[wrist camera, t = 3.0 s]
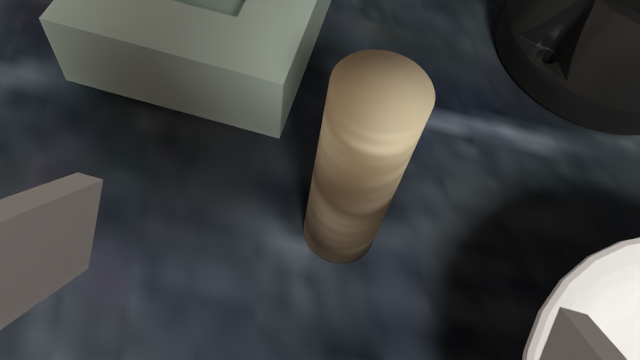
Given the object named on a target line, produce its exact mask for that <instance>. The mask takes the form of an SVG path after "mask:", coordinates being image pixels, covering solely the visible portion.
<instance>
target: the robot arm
mask: <svg viewBox="0 0 640 360" xmlns="http://www.w3.org/2000/svg"><path fill="white" fill-rule="evenodd" d="M494 34H495V43H496V47H497V51H498V54H499V56H500V58H501V60H502V62H503V64H504V66H505V68H506V69H507V71H508V72H509V74H510V75H511V76H512V78H513V79H514V80H515V81H516V82H517V84H518V85H519V86H520V87H521V88H522V89H523V90H524V91H525V92H526V93H528V94H529V95H530V96H531V97H532V98H533V99H535V100H536V101H537V102H539V103H540V104H541V105H543V106H544V107H546V108H547V109H549V110H550V111H552V112H554V113H555V114H557V115H559V116H561V117H563V118H565V119H567V120H569V121H571V122H574V123H576V124H578V125H581V126H584V127H587V128H590V129H593V130H597V131H601V132H606V133H611V134H619V135H640V0H506V1H505V3H504V5H503V7H502V9H501V11H500V13H499V15H498V17H497V20H496V23H495V32H494ZM102 184H103V179H99V178H96V177H92V176H89V175H85V174H81V173H78V172H77V173H74V174H72V175H69V176H66V177H63V178H60V179H57V180H54V181H52V182H49V183H46V184H43V185H40V186H37V187H34V188H32V189H29V190H26V191H23V192H20V193H17V194H14V195H12V196H9V197H6V198H3V199H0V330H1V329H2V328H4V327H5V326H6V325H8V324H9V323H11V322H12V321H14V320H15V319H16V318H18V317H19V316H21V315H22V314H24V313H25V312H26V311H28V310H29V309H31V308H32V307H34V306H35V305H36V304H38V303H39V302H41V301H42V300H44V299H45V298H46V297H48V296H49V295H51V294H52V293H54V292H55V291H56V290H58V289H59V288H61V287H62V286H64V285H65V284H66V283H68V282H69V281H71V280H72V279H73V278H75V277H76V276H78V275H79V274H81V273H82V272H83V271H85V270H86V269H88V267H89V261H90V255H91V249H92V243H93V237H94V232H95V226H96V220H97V214H98V208H99V202H100V196H101V190H102ZM539 360H627V359H626V358H625V356H624V355H623V354H622V353H621V352H620V351H619V350H618V348H617V347H616V346H615V345H614V344H613V343H612V342H611V340H610V339H609V338H608V337H607V336H606V335H605V334H604V333H603V331H602V330H601V329H600V328H599V327H598V326H597V325H596V323H595V322H594V321H593V320H592V319H591V318H590V317H589V315H588V314H584V313H581V312H577V311H574V310H570V309H566V308H563V307H560V308H559V310H558V313H557V315H556V318H555V320H554V323H553V325H552V328H551V330H550V333H549V336H548V338H547V341H546V343H545V346H544V348H543V351H542V353H541V356H540V358H539Z"/></svg>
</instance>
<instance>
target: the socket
mask: <svg viewBox="0 0 640 360" xmlns="http://www.w3.org/2000/svg"><path fill="white" fill-rule="evenodd" d="M330 3H331V0H53V2H52V3H51V4H50V5H49V7H48V8H47V9H46V10H45V12H44V13H43V14H42V15H41V16H40V18H39V19H40V22H41V24H42V26H43V29H44V31H45V33H46V35H47V38H48V40H49V42H50V44H51V47H52V49H53V51H54V54H55V56H56V58H57V60H58V63H59V65H60V67H61V70H62V72H63V74H64V76H65V79H66V80H67V81H71V82H75V83H78V84H82V85H86V86H89V87H93V88H97V89H100V90H104V91H107V92H111V93H115V94H118V95H122V96H126V97H129V98H133V99H137V100H140V101H144V102H147V103H151V104H155V105H158V106H162V107H166V108H169V109H173V110H177V111H180V112H184V113H187V114H191V115H195V116H198V117H202V118H206V119H209V120H213V121H217V122H220V123H224V124H227V125H231V126H235V127H238V128H242V129H246V130H249V131H253V132H257V133H260V134H264V135H267V136H271V137H275V138H278V139H280V136H281V133H282V131H283V128H284V125H285V123H286V120H287V117H288V115H289V112H290V109H291V107H292V104H293V101H294V99H295V96H296V93H297V91H298V88H299V85H300V83H301V80H302V77H303V75H304V72H305V69H306V67H307V64H308V61H309V59H310V56H311V53H312V51H313V48H314V45H315V43H316V40H317V37H318V35H319V32H320V29H321V27H322V24H323V21H324V19H325V16H326V13H327V11H328V8H329V5H330Z"/></svg>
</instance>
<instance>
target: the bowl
mask: <svg viewBox="0 0 640 360" xmlns="http://www.w3.org/2000/svg"><path fill="white" fill-rule="evenodd" d="M560 307H563V308H566V309H570V310H574V311H577V312H581V313H584V314H588V315H589V317H590V318H591V319H592V320H593V321H594V322H595V323H596V325H597V326H598V327H599V328H600V329H601V330H602V331H603V333H604V334H605V335H606V336H607V337H608V338H609V339H610V340H611V342H612V343H613V344H614V345H615V346H616V347H617V348H618V350H619V351H620V352H621V353H622V354H623V355H624V356H625V358H626V359H627V360H640V238H635V239H630V240H625V241H620V242H617V243H615V244H613V245H611V246H609V247H607V248H605V249H602V250H600V251H598V252H596V253H594V254H592V255H590V256H588V257H586V258H585V259H584V260H583V261H582V262H580V263H579V264H578V265H577V266H576V267H575V268H573V269H572V270H571V271H570V272H569V273H567V274H566V275H565V276H564V277H563V278H562V279H560V281H559V282H558V284H557V285H556V286H555V288H554V289H553V291H552V292H551V294H550V295H549V297H548V298H547V299H546V301H545V302H544V304H543V305H542V307H541V308H540V310H539V311H538V314H537V316H536V319H535V322H534V324H533V327H532V330H531V332H530V335H529V338H528V340H527V343H526V346H525V348H524V351H523V358H522V360H539V358H540V356H541V353H542V351H543V348H544V346H545V343H546V341H547V338H548V336H549V333H550V330H551V328H552V325H553V323H554V320H555V318H556V315H557V313H558V310H559V308H560Z"/></svg>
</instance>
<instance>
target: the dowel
mask: <svg viewBox="0 0 640 360" xmlns="http://www.w3.org/2000/svg"><path fill="white" fill-rule="evenodd" d="M434 103H435V91H434V87H433V84H432V82H431V80H430V78H429V77H428V75H427V74H426V73H425V71H424V70H423V69H422V68H421V67H420V66H418V65H417V64H416V63H415V62H413V61H412V60H410V59H408V58H406V57H405V56H402V55H400V54H397V53H394V52H390V51H386V50H363V51H358V52H355V53H352V54H350V55H348V56H346V57H345V58H343V59H342V60H341V61H339V62H338V64H337V65H336V66H335V67H334V69H333V71H332V73H331V76H330V80H329V86H328V91H327V97H326V103H325V108H324V114H323V120H322V125H321V131H320V136H319V142H318V148H317V153H316V159H315V165H314V170H313V176H312V182H311V187H310V193H309V199H308V204H307V210H306V215H305V221H304V237H305V240H306V242H307V244H308V246H309V247H310V249H311V250H312V251H313V252H314V253H315V254H316V255H317V256H319V257H320V258H322V259H324V260H326V261H329V262H333V263H349V262H353V261H355V260H358V259H359V258H361V257H362V256H363V255H365V254H366V253H367V251H368V250H369V248H370V247H371V245H372V242H373V240H374V238H375V236H376V234H377V231H378V229H379V227H380V225H381V222H382V220H383V218H384V216H385V214H386V211H387V209H388V207H389V205H390V202H391V200H392V198H393V196H394V194H395V191H396V189H397V187H398V185H399V182H400V180H401V178H402V176H403V174H404V171H405V169H406V167H407V165H408V162H409V160H410V158H411V156H412V153H413V151H414V149H415V147H416V145H417V142H418V140H419V138H420V136H421V133H422V131H423V129H424V127H425V125H426V122H427V120H428V118H429V116H430V113H431V111H432V109H433V106H434Z"/></svg>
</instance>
